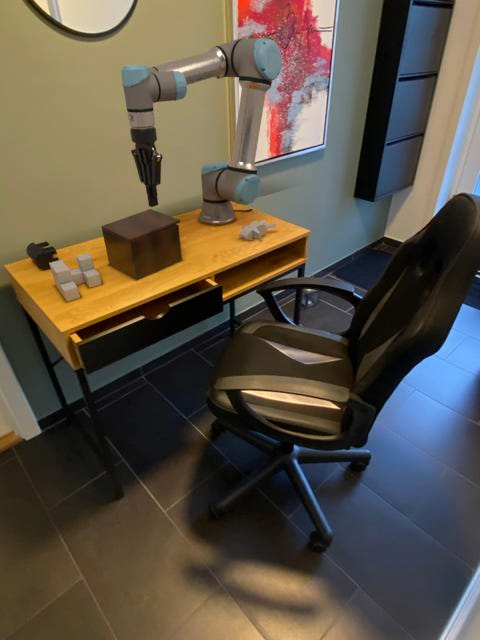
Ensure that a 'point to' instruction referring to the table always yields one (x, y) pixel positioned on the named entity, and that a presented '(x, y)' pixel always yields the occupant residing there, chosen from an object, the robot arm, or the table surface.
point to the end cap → (42, 254)
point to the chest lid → (140, 225)
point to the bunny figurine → (255, 230)
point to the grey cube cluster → (75, 276)
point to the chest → (144, 252)
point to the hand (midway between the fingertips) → (153, 205)
